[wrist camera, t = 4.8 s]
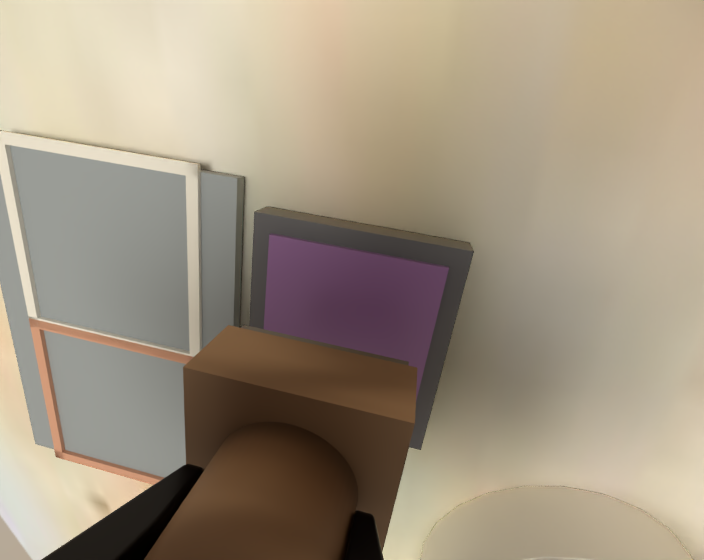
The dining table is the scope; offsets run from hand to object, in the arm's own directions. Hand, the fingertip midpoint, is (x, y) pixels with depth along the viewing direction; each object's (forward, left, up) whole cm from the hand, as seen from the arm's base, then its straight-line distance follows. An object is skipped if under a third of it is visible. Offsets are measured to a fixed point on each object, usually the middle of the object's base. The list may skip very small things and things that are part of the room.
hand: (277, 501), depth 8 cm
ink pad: (0, 0, -9) cm, 9 cm away
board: (+11, +3, -9) cm, 14 cm away
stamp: (0, 0, -3) cm, 3 cm away
